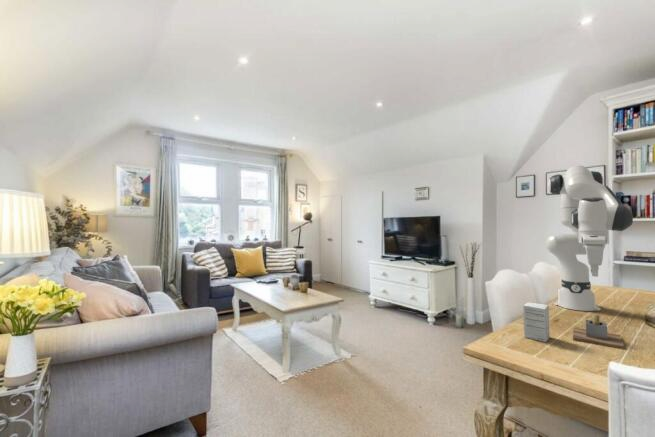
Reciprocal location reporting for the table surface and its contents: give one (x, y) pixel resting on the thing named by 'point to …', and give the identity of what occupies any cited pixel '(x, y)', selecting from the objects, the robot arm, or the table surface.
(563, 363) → the table surface
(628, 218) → the robot arm
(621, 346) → the post board
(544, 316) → the supplement box
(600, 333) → the collar
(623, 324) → the table surface
